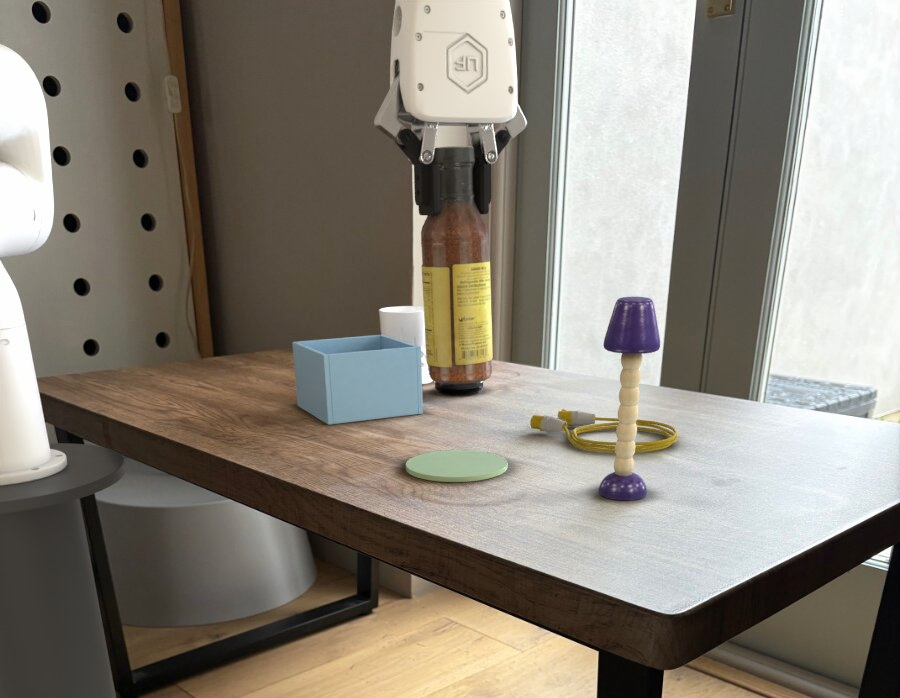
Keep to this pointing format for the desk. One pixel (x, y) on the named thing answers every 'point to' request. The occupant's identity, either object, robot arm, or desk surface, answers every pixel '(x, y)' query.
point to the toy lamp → (629, 388)
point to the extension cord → (586, 418)
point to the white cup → (406, 329)
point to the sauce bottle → (457, 277)
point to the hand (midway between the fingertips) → (453, 212)
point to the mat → (456, 465)
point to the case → (358, 378)
